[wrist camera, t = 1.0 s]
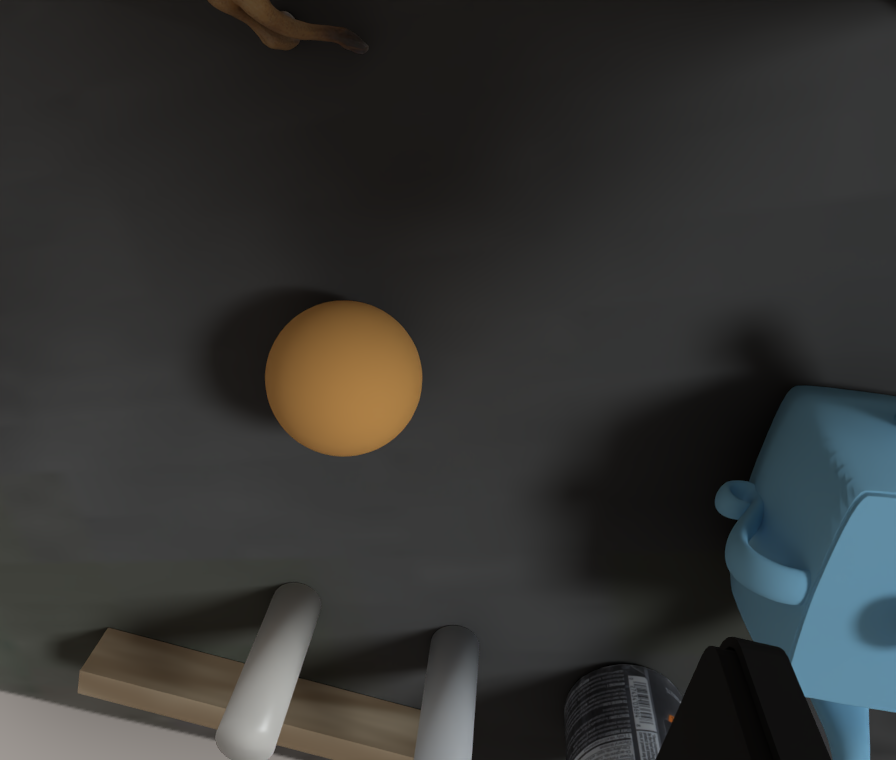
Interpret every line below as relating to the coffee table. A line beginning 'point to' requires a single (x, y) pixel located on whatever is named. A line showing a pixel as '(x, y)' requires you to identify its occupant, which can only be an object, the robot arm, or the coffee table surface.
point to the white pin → (269, 675)
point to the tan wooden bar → (212, 684)
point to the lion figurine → (286, 26)
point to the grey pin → (449, 696)
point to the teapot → (823, 553)
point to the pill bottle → (619, 714)
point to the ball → (343, 378)
